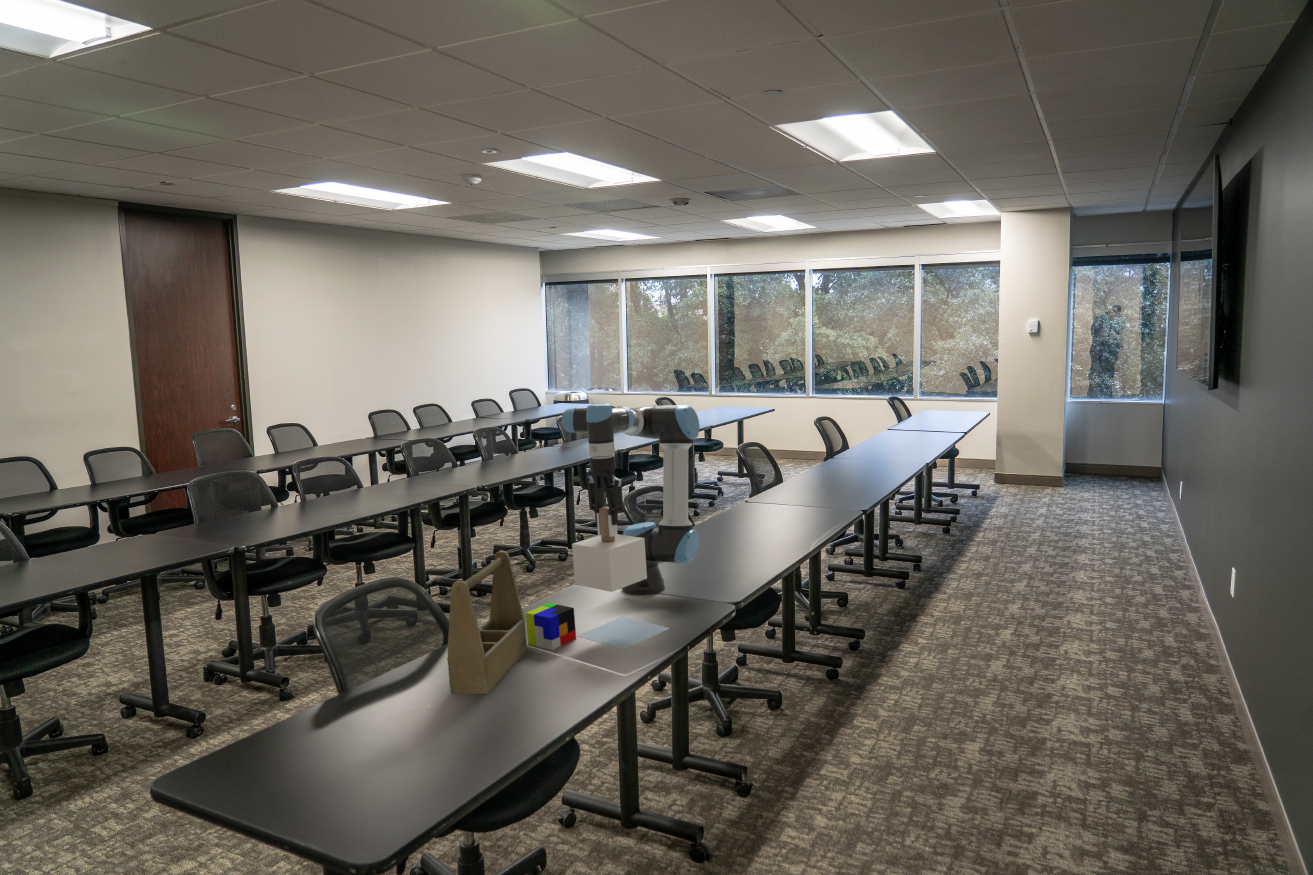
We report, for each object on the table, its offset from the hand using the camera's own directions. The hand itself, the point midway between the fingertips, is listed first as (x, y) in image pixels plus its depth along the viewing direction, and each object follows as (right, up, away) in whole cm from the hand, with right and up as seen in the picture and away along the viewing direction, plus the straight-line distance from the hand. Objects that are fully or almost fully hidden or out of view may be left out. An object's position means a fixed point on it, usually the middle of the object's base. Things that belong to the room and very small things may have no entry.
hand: (607, 534), depth 246 cm
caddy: (-31, -36, -19) cm, 51 cm away
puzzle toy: (-16, -32, 0) cm, 36 cm away
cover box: (+1, -14, +2) cm, 14 cm away
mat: (+5, -30, +4) cm, 31 cm away
